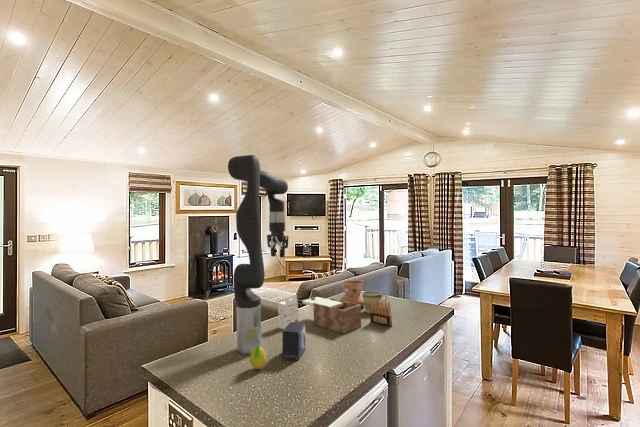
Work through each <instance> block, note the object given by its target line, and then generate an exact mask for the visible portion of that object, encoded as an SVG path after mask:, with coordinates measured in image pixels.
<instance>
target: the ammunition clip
mask: <svg viewBox="0 0 640 427" xmlns="http://www.w3.org/2000/svg"><path fill="white" fill-rule="evenodd" d="M384 300H385V301H384ZM383 301H384V302H383ZM380 303H381V305H380ZM369 314H370V315H369V317H370V321H369V322H370V323H369V324H372V323H373V325H376V324H377V326H381V327H386V328H392V327H393V319H392V310H391V302H390V300H388V301H387V300H386V299H380V300H379V299H378V307H377V300H376V298H375V304H374V301H373V298H372V300H371V313H369Z"/></svg>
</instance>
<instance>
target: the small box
mask: <svg viewBox="0 0 640 427" xmlns="http://www.w3.org/2000/svg"><path fill="white" fill-rule="evenodd" d="M281 333H282V340H281V341H282V344H281V345H282V348H281V349H282V351H281V352H282V354H281V358H282V359H281V360H283V361H284V360H286V361H295V362H296V361H299V360H301V357H302V356H303V354H304V352H305V351H306V323H304V322H298V323H295V322H290V323H289V324H288V325H287V327H286V328H285V329H282V332H281Z"/></svg>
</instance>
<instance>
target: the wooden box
mask: <svg viewBox="0 0 640 427" xmlns="http://www.w3.org/2000/svg"><path fill="white" fill-rule="evenodd" d="M329 300H333V301H338V302H342V303H343V306H341V307H337V308H333V307H329V306H325V305H321V304H317V303H313V304H314V306H313V325H315V326H319V327H322V328H325V329H329V330H332V331H335V332H338V333H341V334H347V333H348V332H351V331H353V330H355V329H359V328H361V327H362V313H361V312H362V310H361V309H362V307H361V305H359V304H354V303H350V302H345V301H341V300H340V299H336V298H329Z"/></svg>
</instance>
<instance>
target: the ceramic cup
mask: <svg viewBox="0 0 640 427" xmlns="http://www.w3.org/2000/svg"><path fill="white" fill-rule="evenodd" d="M361 293H362V297H363V299H364V304H365V305H364V309H365V312H366V313H367V314H370V313H371V300H372V298H373V301H374V304H375V298H376V300H377V307H378V299H379V300H380V301H381V300H382V298H383V297H385V299H383V303H385V300H386V301H387V299H388V296H387V295H386V294H382V292H381V291H377V290H365V291H363V292H361ZM380 306H381V302H380Z"/></svg>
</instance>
